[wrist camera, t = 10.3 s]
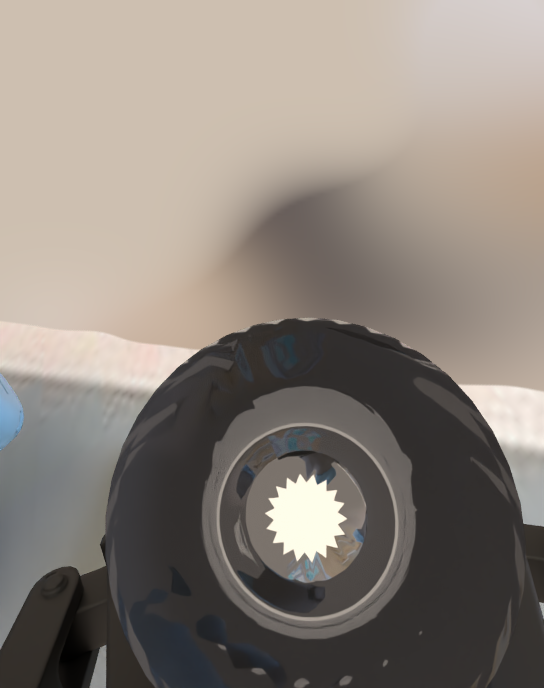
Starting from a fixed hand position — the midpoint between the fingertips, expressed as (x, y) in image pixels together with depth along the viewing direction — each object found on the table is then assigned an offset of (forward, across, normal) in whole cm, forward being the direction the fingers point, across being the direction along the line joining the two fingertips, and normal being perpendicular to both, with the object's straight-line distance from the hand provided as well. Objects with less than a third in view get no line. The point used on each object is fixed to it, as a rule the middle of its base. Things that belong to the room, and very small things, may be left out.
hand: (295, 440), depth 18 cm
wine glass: (+1, 0, -6) cm, 6 cm away
